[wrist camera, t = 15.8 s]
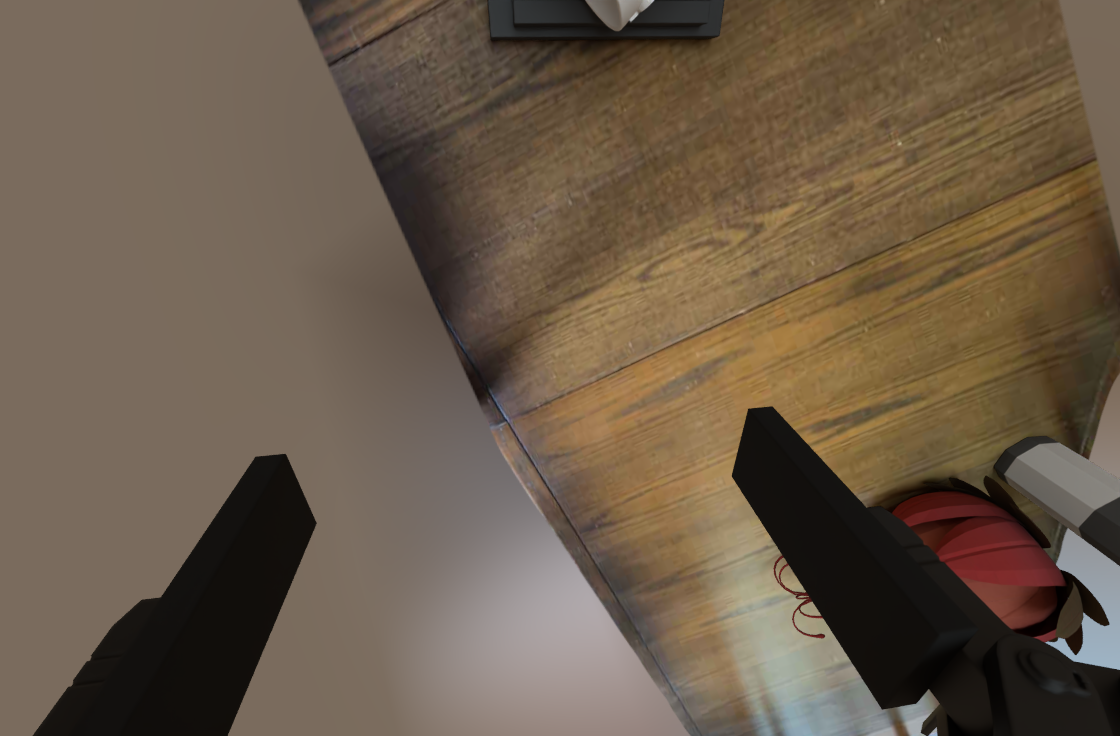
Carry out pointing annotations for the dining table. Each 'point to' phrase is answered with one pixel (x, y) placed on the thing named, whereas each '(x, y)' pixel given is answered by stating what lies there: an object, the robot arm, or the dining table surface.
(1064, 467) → the wine bottle
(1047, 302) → the dining table surface
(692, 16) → the black stepped plinth
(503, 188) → the dining table surface
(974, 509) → the decorative flower
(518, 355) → the dining table surface
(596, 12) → the mug
